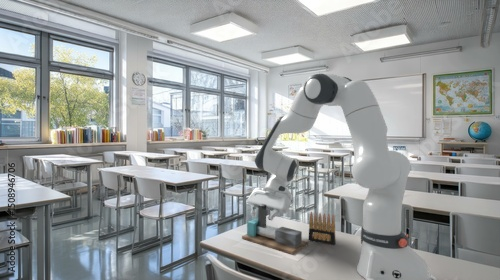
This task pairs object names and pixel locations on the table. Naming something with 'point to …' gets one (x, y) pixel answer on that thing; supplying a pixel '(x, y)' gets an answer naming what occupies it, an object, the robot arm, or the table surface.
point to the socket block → (252, 227)
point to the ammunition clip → (322, 229)
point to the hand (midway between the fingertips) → (260, 217)
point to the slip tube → (264, 223)
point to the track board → (281, 240)
